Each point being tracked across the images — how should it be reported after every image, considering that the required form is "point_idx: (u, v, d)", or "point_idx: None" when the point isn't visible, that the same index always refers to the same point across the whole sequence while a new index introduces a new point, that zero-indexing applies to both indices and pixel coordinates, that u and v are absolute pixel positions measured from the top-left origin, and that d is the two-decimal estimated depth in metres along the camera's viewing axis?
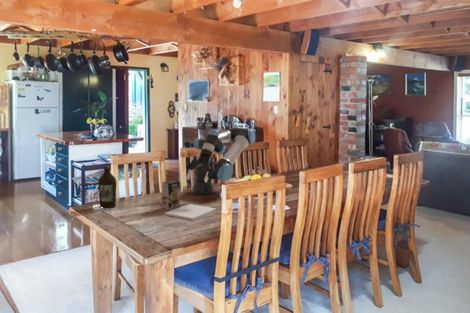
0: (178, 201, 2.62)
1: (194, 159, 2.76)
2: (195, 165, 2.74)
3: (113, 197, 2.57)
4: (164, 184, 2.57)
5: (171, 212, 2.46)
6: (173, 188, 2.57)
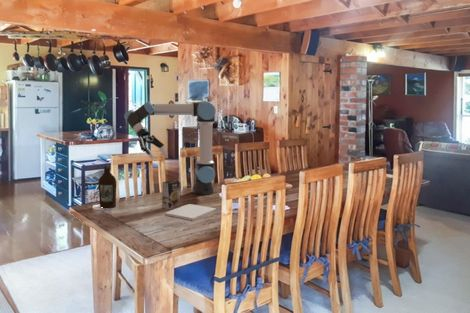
0: (178, 201, 2.62)
1: None
2: (155, 144, 2.73)
3: (113, 197, 2.57)
4: (164, 184, 2.57)
5: (171, 212, 2.46)
6: (173, 188, 2.57)
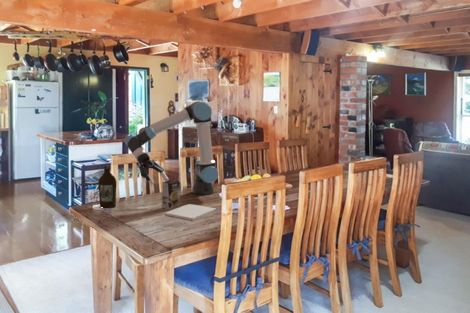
0: (178, 201, 2.62)
1: None
2: (155, 169, 2.69)
3: (113, 197, 2.57)
4: (164, 184, 2.57)
5: (171, 212, 2.46)
6: (173, 188, 2.57)
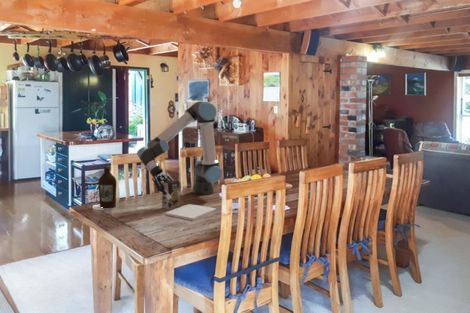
0: (178, 201, 2.62)
1: None
2: None
3: (113, 197, 2.57)
4: (164, 184, 2.57)
5: (171, 212, 2.46)
6: (173, 188, 2.57)
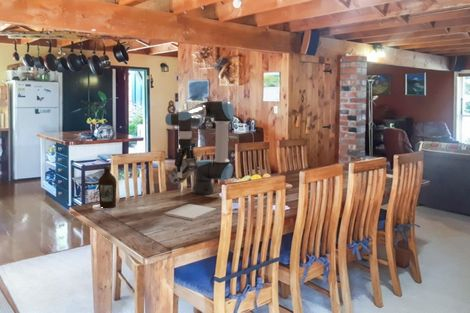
0: (184, 179, 2.54)
1: None
2: (188, 157, 2.51)
3: (113, 197, 2.57)
4: (183, 162, 2.44)
5: (171, 212, 2.46)
6: (188, 170, 2.46)
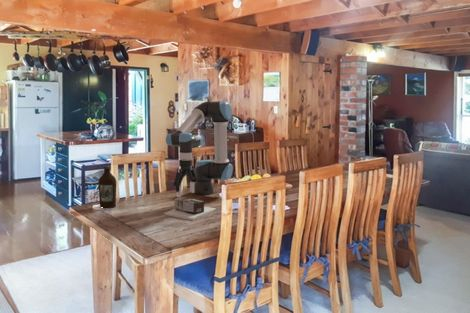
0: None
1: None
2: (189, 176, 2.54)
3: (113, 197, 2.57)
4: (192, 206, 2.42)
5: (171, 212, 2.46)
6: None
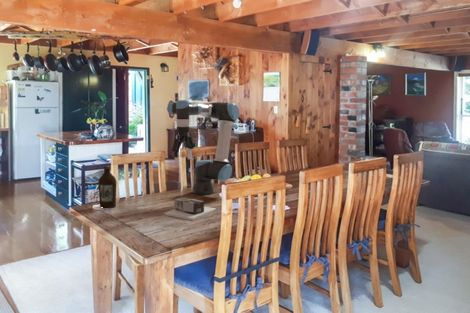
0: None
1: None
2: (187, 143, 2.60)
3: (113, 197, 2.57)
4: (191, 207, 2.42)
5: (171, 212, 2.46)
6: None
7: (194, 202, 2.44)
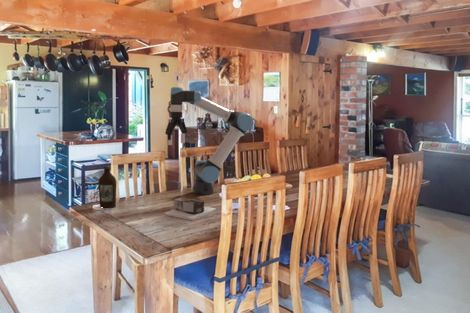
0: None
1: (180, 122, 2.82)
2: (180, 128, 2.80)
3: (113, 197, 2.57)
4: (191, 207, 2.42)
5: (171, 212, 2.46)
6: None
7: (194, 202, 2.44)
